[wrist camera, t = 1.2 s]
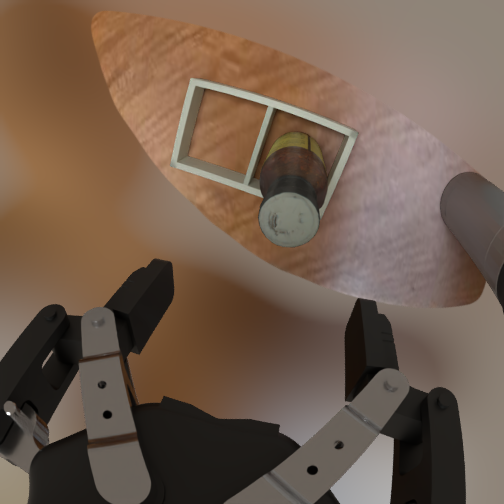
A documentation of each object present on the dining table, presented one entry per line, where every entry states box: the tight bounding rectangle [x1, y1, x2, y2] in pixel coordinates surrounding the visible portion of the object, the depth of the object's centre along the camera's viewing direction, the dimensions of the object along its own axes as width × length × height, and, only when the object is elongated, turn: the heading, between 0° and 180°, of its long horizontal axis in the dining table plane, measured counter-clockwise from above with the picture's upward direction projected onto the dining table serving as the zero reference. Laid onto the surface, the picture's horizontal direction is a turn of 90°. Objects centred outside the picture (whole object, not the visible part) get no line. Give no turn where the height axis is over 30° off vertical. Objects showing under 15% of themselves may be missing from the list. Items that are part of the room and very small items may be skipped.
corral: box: [170, 78, 358, 220], centre depth 34 cm, size 20×12×4 cm, turn 73°
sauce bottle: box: [258, 132, 328, 247], centre depth 27 cm, size 7×6×20 cm
